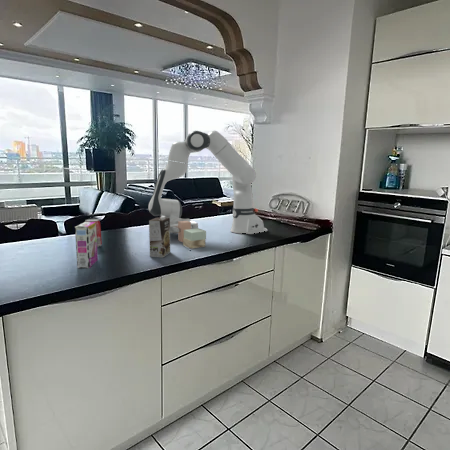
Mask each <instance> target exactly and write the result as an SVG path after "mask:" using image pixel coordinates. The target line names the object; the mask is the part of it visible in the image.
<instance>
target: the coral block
mask: <svg viewBox="0 0 450 450" xmlns="http://www.w3.org/2000/svg"><path fill="white" fill-rule="evenodd" d="M178 228H180V229H181V232H178V233H177V234H178V237H177V238H178V239H177V240H178V241H179V243H180V242H181V243H183V238H184V230H187V229H191V222H189V221H180V222H178Z"/></svg>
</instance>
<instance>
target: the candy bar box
mask: <svg viewBox="0 0 450 450" xmlns="http://www.w3.org/2000/svg"><path fill="white" fill-rule="evenodd" d="M74 233H75V251H76V252H75V253H76V268H77V269H91V268H92V266H93V265H95V264H96V262H98V261H99V259H98V258H99V256H98V247H97V233H96V222H85V221H84V222H81V223H80V224H77V225H76V226H74Z"/></svg>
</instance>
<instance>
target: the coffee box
mask: <svg viewBox="0 0 450 450" xmlns="http://www.w3.org/2000/svg"><path fill="white" fill-rule="evenodd" d="M148 224H149V225H148V227H149V228H148V229H149V230H148V232H149V233H148V235H149V236H148V237H149V238H148V239H149V257H150V258H151V257H152V258H160V259H162V258H165V257H166V256H168V255H169V254H170V253H171V233H170V218H160V217H155V218H152V219H149V220H148Z"/></svg>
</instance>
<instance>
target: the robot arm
mask: <svg viewBox="0 0 450 450" xmlns="http://www.w3.org/2000/svg"><path fill="white" fill-rule="evenodd" d="M205 149H207V150H208V151H210V153H212V155H213V156H214V158H216V159H217V160H218V162H220V164H221V165H222V166H223V167H224V169H226V170H227V171H228V173H230V175H231V176H232V189H233V207H232V223H231V228H230V232H232V233H235V234H242V233H246V234H245V235H247V234H248V235H255V234H259V232H260V233H264V231H265V232H268V229H267V228H266V227H265V226H264V220H262V219H261V218H260V217H259V216H258V215H257V214H256V213H258V212H259V209H258V208H254V207H253V198H254V196H253V190H252V183H253V182H254V181H255V180H256V177H257V173H256V171H255V169H254V167H253V166H251V164H250V163H249V162H248V161H247V160H246V158H244V157H243V156H241V155H240V154H239V152H238V151H237V150H236V149H235V148H234V147H233V146H232V145H231V143H230V142H229V141H228V140H227V138H226V137H224V136H223V135H222V134H221V133H220V132H219V131H217V130H211V131H210V132H209V131H208V133H206V132H203V131H201V130H192V131H191V132H189V133H188V134H187V136H186V138H185V139H184V141H178V140H177V141H175V142H173V143H172V144H171V146H170V149H169V154H168V157H167V158H168V159H167V163H166V166H165V167H164V168H163V169H161V170H160V171H159V174H158V177H157V179H156V182H155V185H154V188H153V193H152V195H151V197H150V200H149V201H148V211H149V213H150V214H151V215H152V216H154V217H158V216H159V218H170V234H175V235H176V234H178V232H181V229H180V228H178V222H180V221H189V222H191V229H196V228H199V223H198V222H196V221H194V220H191V219H190V218H181V217H182V215H183V206H182V204H181V202H180V200H178V199H173V198H172V199H171V198H162V195H163V192H164V189H165V185H166V184H167V182H169V181H172V180H176V179H180V178H182V177H183V176H185V174H186V173H187V169H188V165H189V164H188V163H189V158H190V155H191V153H200V152H201V151H203V150H205ZM255 212H256V213H255ZM254 233H255V234H254Z"/></svg>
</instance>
